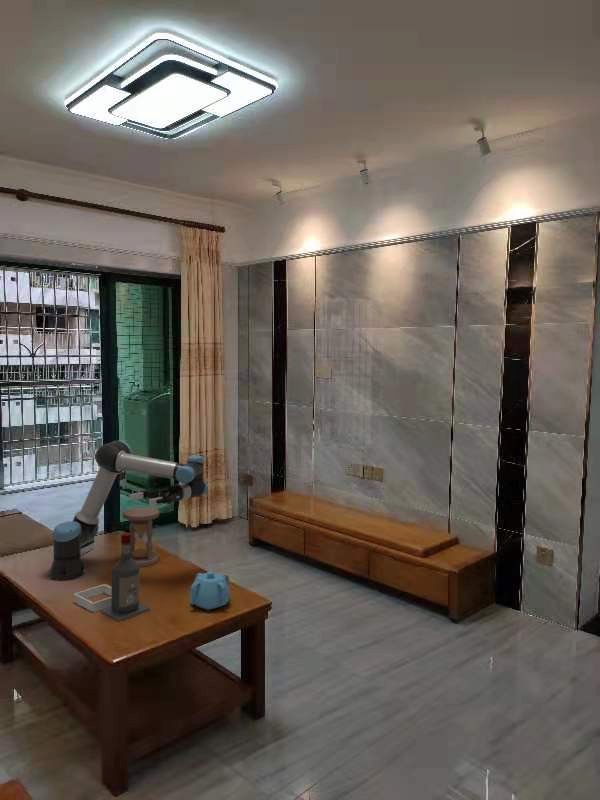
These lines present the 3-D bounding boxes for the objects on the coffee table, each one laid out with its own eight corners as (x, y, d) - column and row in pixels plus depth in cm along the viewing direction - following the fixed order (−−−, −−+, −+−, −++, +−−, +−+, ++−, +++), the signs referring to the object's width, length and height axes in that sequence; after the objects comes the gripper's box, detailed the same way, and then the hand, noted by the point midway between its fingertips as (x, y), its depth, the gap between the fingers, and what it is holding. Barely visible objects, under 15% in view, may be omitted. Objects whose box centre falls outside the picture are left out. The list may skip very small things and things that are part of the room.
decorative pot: (233, 598, 247) (234, 566, 246) (224, 614, 231) (225, 580, 230) (196, 595, 248) (197, 564, 248) (185, 611, 232) (185, 577, 232)
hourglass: (116, 560, 289) (116, 510, 288) (148, 553, 301) (148, 505, 300) (132, 569, 276) (132, 518, 275) (165, 562, 288) (165, 512, 287)
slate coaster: (100, 611, 230) (100, 609, 230) (130, 601, 240) (130, 598, 240) (119, 621, 221) (119, 619, 221) (149, 610, 232) (149, 607, 232)
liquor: (141, 608, 232) (142, 534, 230) (122, 615, 225) (122, 539, 223) (128, 601, 237) (129, 529, 235) (108, 608, 230) (109, 534, 228)
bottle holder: (73, 602, 238) (73, 593, 238) (104, 591, 249) (104, 583, 249) (92, 612, 229) (92, 603, 229) (124, 601, 240) (124, 593, 240)
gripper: (196, 505, 258) (157, 514, 241) (161, 496, 273) (122, 503, 257) (196, 488, 257) (157, 496, 241) (161, 480, 273) (122, 487, 256)
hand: (139, 500), depth 249 cm, fingers open, 13 cm apart
